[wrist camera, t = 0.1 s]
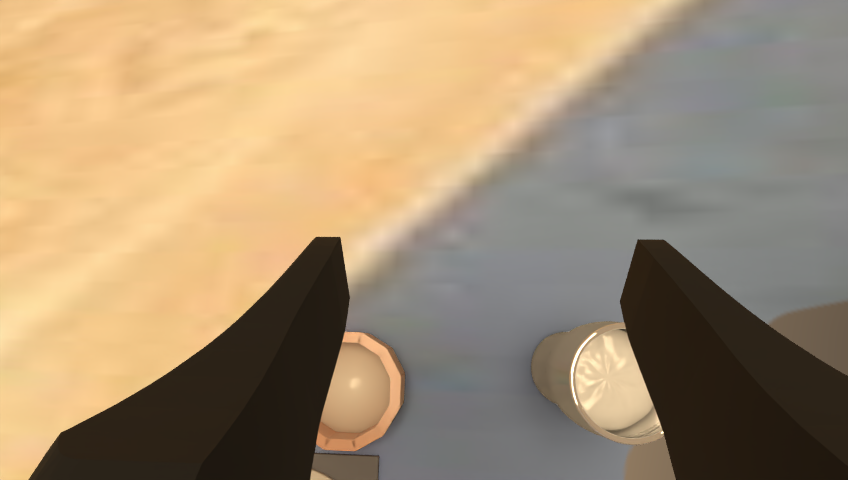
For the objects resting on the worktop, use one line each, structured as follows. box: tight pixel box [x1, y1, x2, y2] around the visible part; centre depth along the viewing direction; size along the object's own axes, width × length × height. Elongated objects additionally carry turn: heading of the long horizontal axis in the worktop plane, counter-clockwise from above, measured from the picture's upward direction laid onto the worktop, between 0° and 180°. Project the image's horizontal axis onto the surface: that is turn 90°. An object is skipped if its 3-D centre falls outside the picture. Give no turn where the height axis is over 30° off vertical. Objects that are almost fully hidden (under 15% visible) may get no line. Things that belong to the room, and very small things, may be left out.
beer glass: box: [531, 321, 664, 445], centre depth 36 cm, size 7×7×15 cm
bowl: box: [316, 332, 405, 451], centre depth 41 cm, size 9×9×4 cm
